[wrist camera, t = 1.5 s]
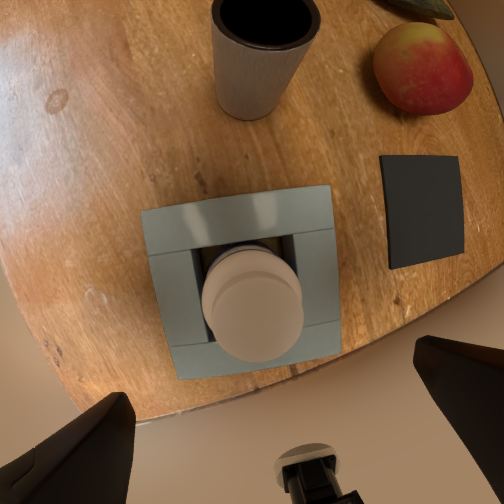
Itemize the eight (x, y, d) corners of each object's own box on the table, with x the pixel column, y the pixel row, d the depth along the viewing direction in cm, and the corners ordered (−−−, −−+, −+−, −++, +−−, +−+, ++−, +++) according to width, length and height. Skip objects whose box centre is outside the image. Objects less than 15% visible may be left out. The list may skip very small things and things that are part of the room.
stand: (323, 330, 22) (341, 353, 18) (185, 352, 21) (178, 380, 17) (311, 187, 20) (330, 184, 16) (155, 209, 19) (139, 211, 16)
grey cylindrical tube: (282, 119, 19) (330, 54, 9) (218, 123, 19) (212, 53, 9) (275, 65, 18) (311, -20, 8) (214, 68, 18) (209, -22, 8)
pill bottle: (285, 303, 21) (321, 364, 13) (214, 314, 21) (209, 384, 12) (276, 232, 20) (313, 252, 12) (201, 243, 20) (184, 273, 11)
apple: (437, 132, 20) (501, 116, 12) (361, 116, 20) (420, 83, 12) (425, 60, 19) (477, 29, 11) (351, 38, 18) (394, -11, 10)
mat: (461, 252, 22) (464, 252, 22) (388, 268, 22) (391, 269, 21) (455, 156, 21) (458, 156, 20) (378, 156, 20) (381, 155, 20)
